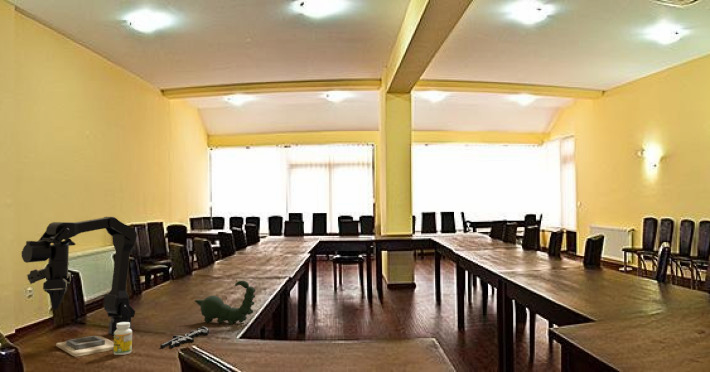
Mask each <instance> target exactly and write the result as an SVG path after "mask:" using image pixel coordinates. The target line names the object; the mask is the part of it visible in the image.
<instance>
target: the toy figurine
mask: <svg viewBox="0 0 710 372" xmlns="http://www.w3.org/2000/svg"><path fill="white" fill-rule="evenodd" d="M234 286H235V287H237V286H241V287H242V288H244V289H246V290H245V293H244V296H243V297H244V299H243V300H242V301H241V302H242V303H241V305H240V306H239V307H238V308H237V307H234V306H233V307H232V306H231V305H229V304H226V303H224V300H223V299H222V298H221V297H219V296H217V295H209V296H206V298H204V299H196V300H194V302H195V303H196V304H197V305H198V306H199V307H200V311H201V316H203V317H204V319H203V321H204V322H205V323H206V324H210V323H212V322H213V320H214V319H217V323H218V324H223V323H224V322H227V323H228V324H229V325H230V326H232V325H233V324H234V323H237V322H239V323H243V322H244V321H247V318H248V317H247V315H251V314H253V313H254V310H253V309H252V306H254V305H255V301H253V300H254V299H255V297H256V294H254V293H255V292H256V288H254V287H253V286H252V285H251V286H250V285H249V283H248V282H247V281H246V280H239V281H237V282H235V285H234Z"/></svg>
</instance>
